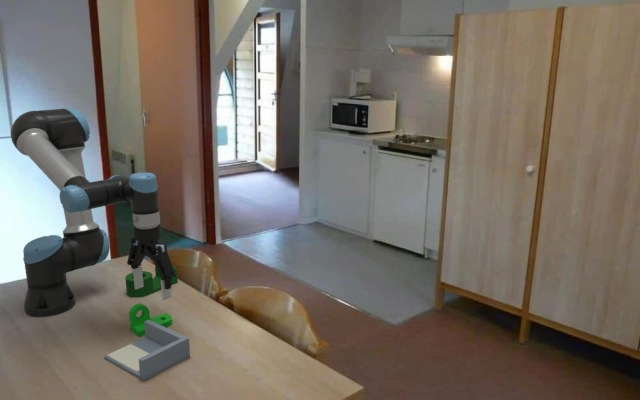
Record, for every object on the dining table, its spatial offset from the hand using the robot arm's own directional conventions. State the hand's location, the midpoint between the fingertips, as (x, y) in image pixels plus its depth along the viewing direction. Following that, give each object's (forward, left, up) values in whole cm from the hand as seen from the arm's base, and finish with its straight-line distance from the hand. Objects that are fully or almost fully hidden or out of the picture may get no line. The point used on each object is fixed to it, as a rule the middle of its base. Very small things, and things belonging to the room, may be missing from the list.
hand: (152, 293), depth 165 cm
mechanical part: (-1, 0, -12) cm, 12 cm away
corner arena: (+13, -12, -12) cm, 21 cm away
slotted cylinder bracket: (-27, +18, -12) cm, 35 cm away
